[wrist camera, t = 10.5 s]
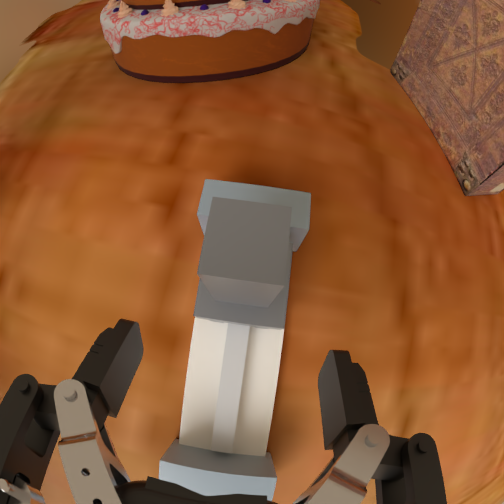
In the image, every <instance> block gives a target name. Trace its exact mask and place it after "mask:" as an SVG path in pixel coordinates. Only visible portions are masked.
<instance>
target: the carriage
mask: <svg viewBox="0 0 504 504" xmlns="http://www.w3.org/2000/svg"><path fill="white" fill-rule="evenodd" d="M291 212H292V207H288V206H281V205H274V204H267V203H260V202H252V201H245V200H237V199H229V198H220V197H213V198H212V202H211V207H210V212H209V216H208V221H207V226H206V231H205V236H204V240H203V245H202V251H201V256H200V261H199V266H198V272H197V274H198V276H199V277H200V280H199V286H198V292H197V297H196V303H195V309H194V316H195V317H197V318H200V319H206V320H210V321H213V322H219V323H224V322H225V323H232V324H238V325H246V326H253V327H255V328H262V329H278V330H281V329H284V326H285V318H286V309H287V300H288V291H289V281H290V271H291V261H292V250H293V243H291V242H289V236H290V224H291Z"/></svg>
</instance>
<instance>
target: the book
mask: <svg viewBox="0 0 504 504" xmlns="http://www.w3.org/2000/svg"><path fill="white" fill-rule="evenodd" d="M390 72H391V74H392V75H393V76H394V78H395V79H396V80H397V82H398V83H399V84H400V85H401V87H402V88H403V89H404V91H405V92H406V94H407V95H408V96H409V98H410V99H411V100H412V102H413V103H414V105H415V106H416V108H417V109H418V111H419V112H420V114H421V115H422V117H423V118H424V120H425V121H426V123H427V125H428V126H429V128H430V129H431V131H432V133H433V134H434V136H435V138H436V139H437V141H438V143H439V145H440V146H441V148H442V150H443V152H444V154H445V156H446V157H447V159H448V161H449V163H450V165H451V167H452V169H453V171H454V173H455V175H456V177H457V179H458V181H459V184H460V186H461V188H462V190H463V192H464V195H465V196H472V195H488V194H499V193H500V192H501V191H503V190H504V0H421V1H420V3H419V6H418V8H417V11H416V13H415V15H414V18H413V20H412V22H411V25H410V27H409V29H408V32H407V34H406V36H405V39H404V41H403V43H402V45H401V48H400V50H399V52H398V54H397V56H396V59H395V61H394V63H393V65H392V67H391V69H390Z"/></svg>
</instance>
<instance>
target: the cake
mask: <svg viewBox="0 0 504 504" xmlns="http://www.w3.org/2000/svg"><path fill="white" fill-rule="evenodd" d="M319 3H320V0H109V2H108V4H107V5H106V6H105V7H104V8H103V10H102V12H101V14H100V22H101V26H102V29H103V33H104V37H105V39H106V40H107V42H108V43H109V45H110V48H111V51H112V53H113V56H114V59H115V61H116V64H117V65H118V67H119V68H120V70H122V71H123V72H124V73H126V74H128V75H130V76H132V77H135V78H138V79H142V80H147V81H154V82H164V83H190V82H207V81H217V80H225V79H231V78H238V77H244V76H248V75H253V74H258V73H262V72H265V71H268V70H272V69H275V68H278V67H280V66H283V65H285V64H288V63H289V62H291V61H293V60H295V59H296V58H298V57H299V56H300V55H301V54H302V53H303V52H305V50H306V48H307V46H308V44H309V40H310V35H311V30H312V26H313V21H314V19H315V17H316V14H317V10H318V8H319Z"/></svg>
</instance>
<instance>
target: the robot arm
mask: <svg viewBox="0 0 504 504" xmlns="http://www.w3.org/2000/svg"><path fill="white" fill-rule="evenodd" d="M142 356H143V343H142V338H141V333H140V328H139V324H138V323H137V322H134V321H130V320H126V319H120V320H119V321H118V323H117V324H116V326H115V327H114V329H113V328H107V329H106V330H105V331H103V332H102V333H101V334H100V335H99V336H98V338H97V339H96V341H95V342H94V345H92V347H91V349H90V352H88V353H87V355H86V357H85V358H84V360H83V362H82V363H81V365H80V366H79V368H78V370H77V371H76V373H75V375H74V376H73V378H72V379H67V380H64V381H62V382H60V383H59V384H58V385H57V386H56V385H45V384H39V383H38V382H37V380H36V379H35V377H33V376H32V375H29V374H22V375H20V376H18V377H17V378H16V379H15V380H14V381H13V383H12V385H11V386H10V388H9V390H8V392H7V393H6V395H5V397H4V399H3V401H2V402H1V404H0V504H45V502H44V498H43V496H42V494H41V493H40V489H41V486H42V482H43V479H44V476H45V473H46V470H47V467H48V464H49V461H50V459H51V456H52V453H53V450H54V448H55V445H56V442H57V440H58V437H59V435H60V432H61V438H62V440H61V441H59V443H58V447H59V452H60V456H61V460H62V463H63V467H64V470H65V473H66V477H67V480H68V483H69V486H70V489H71V492H72V494H73V497H74V500H75V502H76V504H278V503H275V502H272V501H269V500H267V496H266V495H249V494H228V495H215V496H205V495H201V494H199V493H197V492H194V491H192V490H189V489H187V488H185V487H183V486H180V485H178V484H176V483H172V482H168V481H164V480H160V479H156V478H153V477H149V476H148V478H147V481H144V480H143V481H132V482H131V481H130V479H129V477H128V475H127V473H126V471H125V469H124V467H123V465H122V464H121V462H120V460H119V458H118V456H117V453H116V451H115V448H114V446H113V443H112V440H111V438H110V435H109V432H108V429H107V426H106V423H105V420H106V418H107V416H108V415H109V416H112V417H114V418H116V417H117V415H118V412H119V410H120V407H121V405H122V403H123V400H124V398H125V396H126V393H127V391H128V389H129V386H130V384H131V382H132V379H133V377H134V375H135V373H136V370H137V368H138V366H139V364H140V362H141V359H142ZM367 383H368V382H367V378H366V374H365V372H364V370H363V369H362V368H361V366H360V365H359V364H358V363H352V361H351V357H350V354H349V352H348V351H344V350H330V351H329V353H328V355H327V357H326V359H325V362H324V364H323V366H322V368H321V370H320V373H319V377H318V389H319V398H320V407H321V416H322V426H323V436H324V447H325V450H331V449H333V452H334V456H333V457H332V458H331V460H330V461H329V462H328V464H327V465H326V466H325V468H324V469H323V470H322V472H321V473H320V474H319V475H318V477H317V478H316V479H315V480H314V481H313V483H312V484H311V485H310V486H309V487H308V489H307V490H306V491H305V492H304V493H302V494H301V495H300V496H299V497H298V498H297V500H296V501H295V502H294V503H293V504H360V503H361V502H362V500H363V499H364V497H365V495H366V493H367V489H366V486H367V484H368V482H369V481H370V479H371V478H372V479H375V484H376V499H377V504H447V501H446V494H445V487H444V482H443V476H442V471H441V466H440V461H439V456H438V452H437V447H436V444H435V441H434V440H433V438H432V437H431V436H429V435H428V434H425V433H418V434H415V435H414V436H412V437H411V438H410V439H407V438H401V437H396V436H391V435H389V434H388V432H387V431H386V430H385V429H384V428H383V427H381V426H379V424H378V421H377V417H376V413H375V409H374V405H373V401H372V397H371V393H370V389H369V385H368V384H367Z"/></svg>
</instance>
